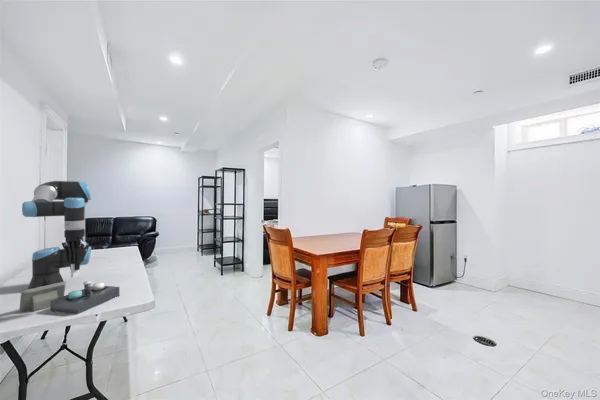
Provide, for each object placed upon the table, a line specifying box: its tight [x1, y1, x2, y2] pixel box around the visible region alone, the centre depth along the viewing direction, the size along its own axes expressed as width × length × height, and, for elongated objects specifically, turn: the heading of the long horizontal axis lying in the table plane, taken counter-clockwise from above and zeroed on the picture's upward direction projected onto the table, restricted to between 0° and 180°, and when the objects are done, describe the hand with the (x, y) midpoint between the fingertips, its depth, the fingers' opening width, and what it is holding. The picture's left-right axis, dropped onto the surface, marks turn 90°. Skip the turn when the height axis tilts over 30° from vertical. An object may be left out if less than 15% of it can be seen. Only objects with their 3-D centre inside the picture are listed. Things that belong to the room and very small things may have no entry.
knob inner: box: [92, 281, 105, 292], centre depth 136 cm, size 5×5×7 cm
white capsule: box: [83, 280, 92, 294], centre depth 130 cm, size 3×3×6 cm
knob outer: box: [67, 289, 82, 301], centre depth 124 cm, size 5×5×7 cm
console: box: [50, 285, 120, 315], centre depth 130 cm, size 16×22×5 cm
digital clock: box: [19, 281, 66, 313], centre depth 126 cm, size 16×9×11 cm, turn 138°
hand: (75, 276), depth 125 cm, fingers closed
